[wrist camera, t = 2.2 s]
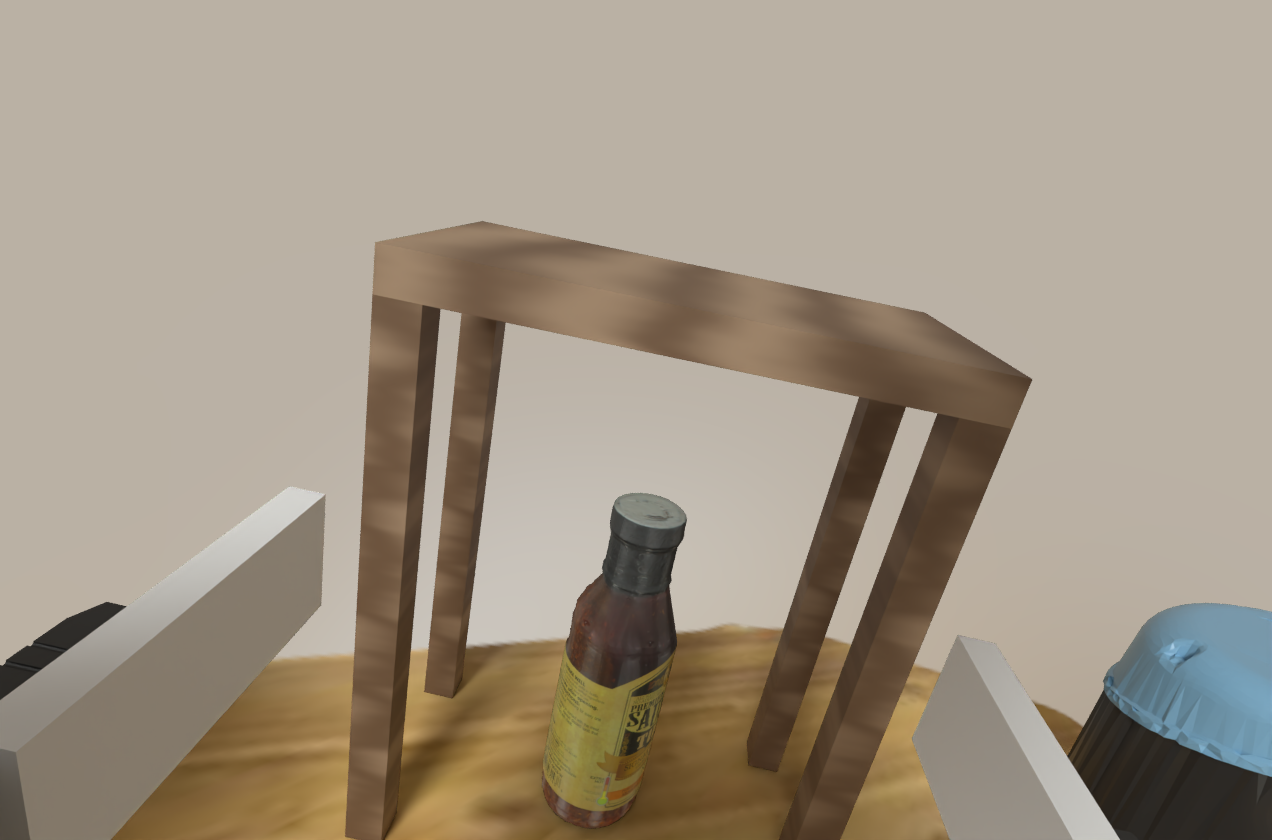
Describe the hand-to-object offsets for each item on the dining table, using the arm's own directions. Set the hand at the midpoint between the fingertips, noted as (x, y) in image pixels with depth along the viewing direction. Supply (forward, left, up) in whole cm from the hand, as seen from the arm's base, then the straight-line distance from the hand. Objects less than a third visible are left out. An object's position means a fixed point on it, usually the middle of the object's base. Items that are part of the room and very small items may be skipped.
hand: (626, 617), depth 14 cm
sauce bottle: (-1, -20, -28) cm, 35 cm away
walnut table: (-1, -20, -28) cm, 34 cm away
